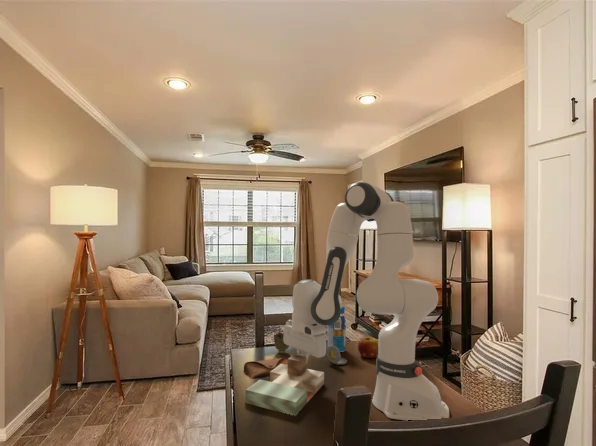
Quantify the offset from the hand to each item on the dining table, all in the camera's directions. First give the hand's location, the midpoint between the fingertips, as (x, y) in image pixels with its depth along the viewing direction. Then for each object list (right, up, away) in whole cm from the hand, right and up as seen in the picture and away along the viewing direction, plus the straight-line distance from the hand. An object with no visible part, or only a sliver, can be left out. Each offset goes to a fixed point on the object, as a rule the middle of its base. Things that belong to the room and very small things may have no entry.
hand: (303, 362), depth 126 cm
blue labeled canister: (+16, -7, +31) cm, 35 cm away
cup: (-9, -6, +25) cm, 28 cm away
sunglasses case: (-13, -6, +5) cm, 15 cm away
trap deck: (-5, -5, -12) cm, 14 cm away
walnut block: (-2, -1, -5) cm, 6 cm away
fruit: (+29, -7, +24) cm, 38 cm away
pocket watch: (+14, -7, +15) cm, 22 cm away
